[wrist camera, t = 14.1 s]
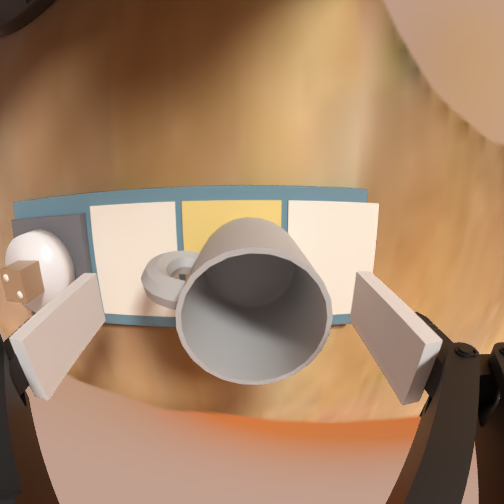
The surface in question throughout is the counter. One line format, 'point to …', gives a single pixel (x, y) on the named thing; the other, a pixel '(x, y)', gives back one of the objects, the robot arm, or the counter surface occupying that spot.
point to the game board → (201, 235)
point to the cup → (244, 302)
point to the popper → (36, 269)
